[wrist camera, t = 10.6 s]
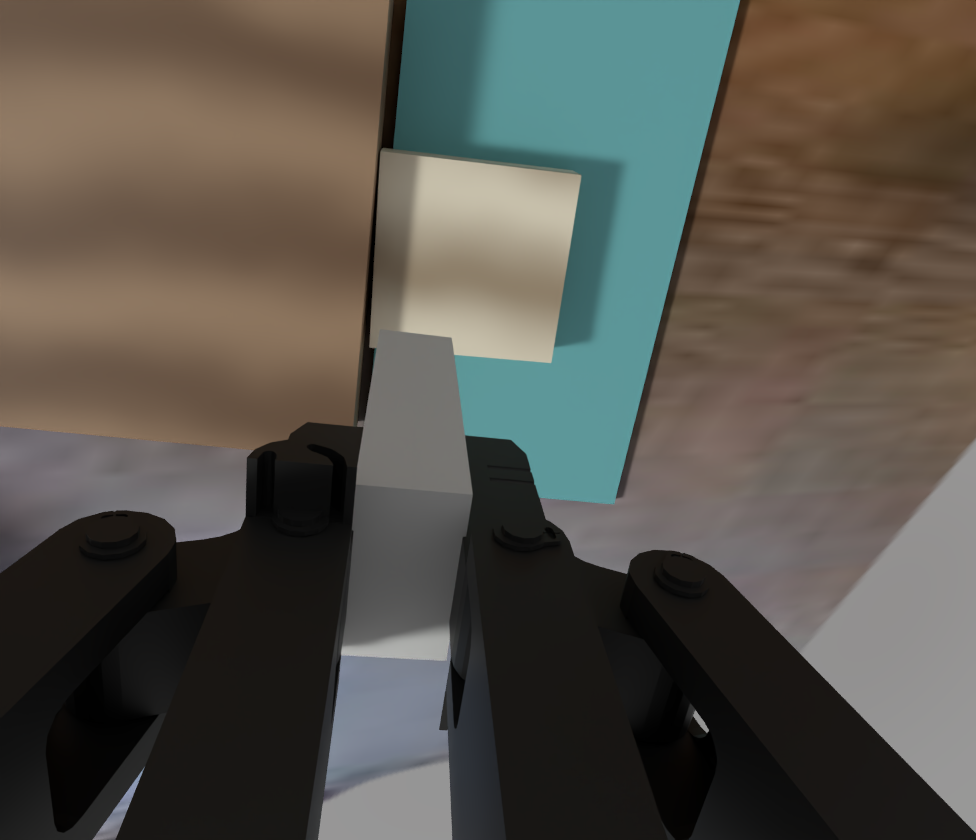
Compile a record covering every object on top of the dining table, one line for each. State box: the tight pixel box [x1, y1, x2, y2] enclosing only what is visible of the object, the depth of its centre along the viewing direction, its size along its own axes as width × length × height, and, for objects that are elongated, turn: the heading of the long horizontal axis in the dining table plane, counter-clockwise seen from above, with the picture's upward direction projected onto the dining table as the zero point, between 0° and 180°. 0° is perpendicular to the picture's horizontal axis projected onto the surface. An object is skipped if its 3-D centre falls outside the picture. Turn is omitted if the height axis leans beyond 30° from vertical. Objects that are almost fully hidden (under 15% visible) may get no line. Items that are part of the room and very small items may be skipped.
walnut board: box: [0, 0, 394, 450], centre depth 29 cm, size 18×16×4 cm
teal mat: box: [372, 0, 740, 504], centre depth 33 cm, size 24×13×1 cm, turn 172°
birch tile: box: [369, 148, 581, 363], centre depth 31 cm, size 8×8×2 cm
